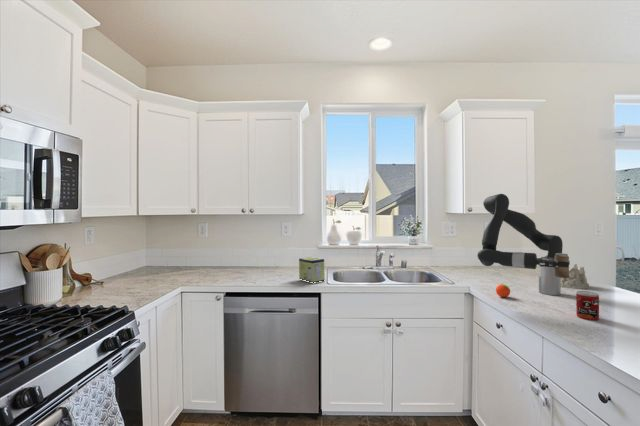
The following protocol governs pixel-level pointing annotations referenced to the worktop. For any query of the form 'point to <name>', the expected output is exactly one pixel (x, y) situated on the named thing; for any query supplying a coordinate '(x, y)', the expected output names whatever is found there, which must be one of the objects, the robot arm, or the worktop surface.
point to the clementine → (503, 290)
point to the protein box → (311, 269)
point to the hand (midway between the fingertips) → (568, 263)
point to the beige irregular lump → (575, 279)
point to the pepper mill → (561, 271)
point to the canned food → (587, 305)
